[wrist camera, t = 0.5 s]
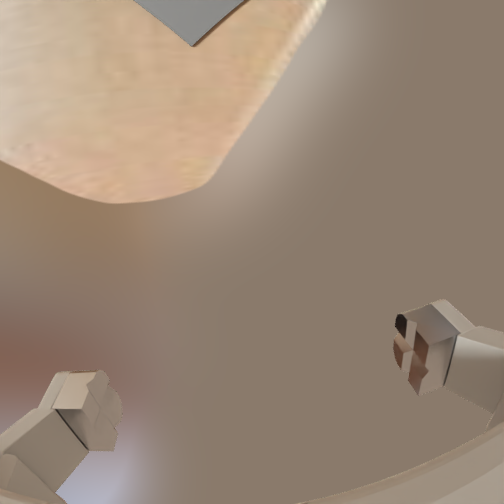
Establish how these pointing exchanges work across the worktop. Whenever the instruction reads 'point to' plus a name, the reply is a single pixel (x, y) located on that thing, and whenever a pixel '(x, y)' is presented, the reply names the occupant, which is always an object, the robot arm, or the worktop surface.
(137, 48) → the worktop surface
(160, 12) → the slate mat
